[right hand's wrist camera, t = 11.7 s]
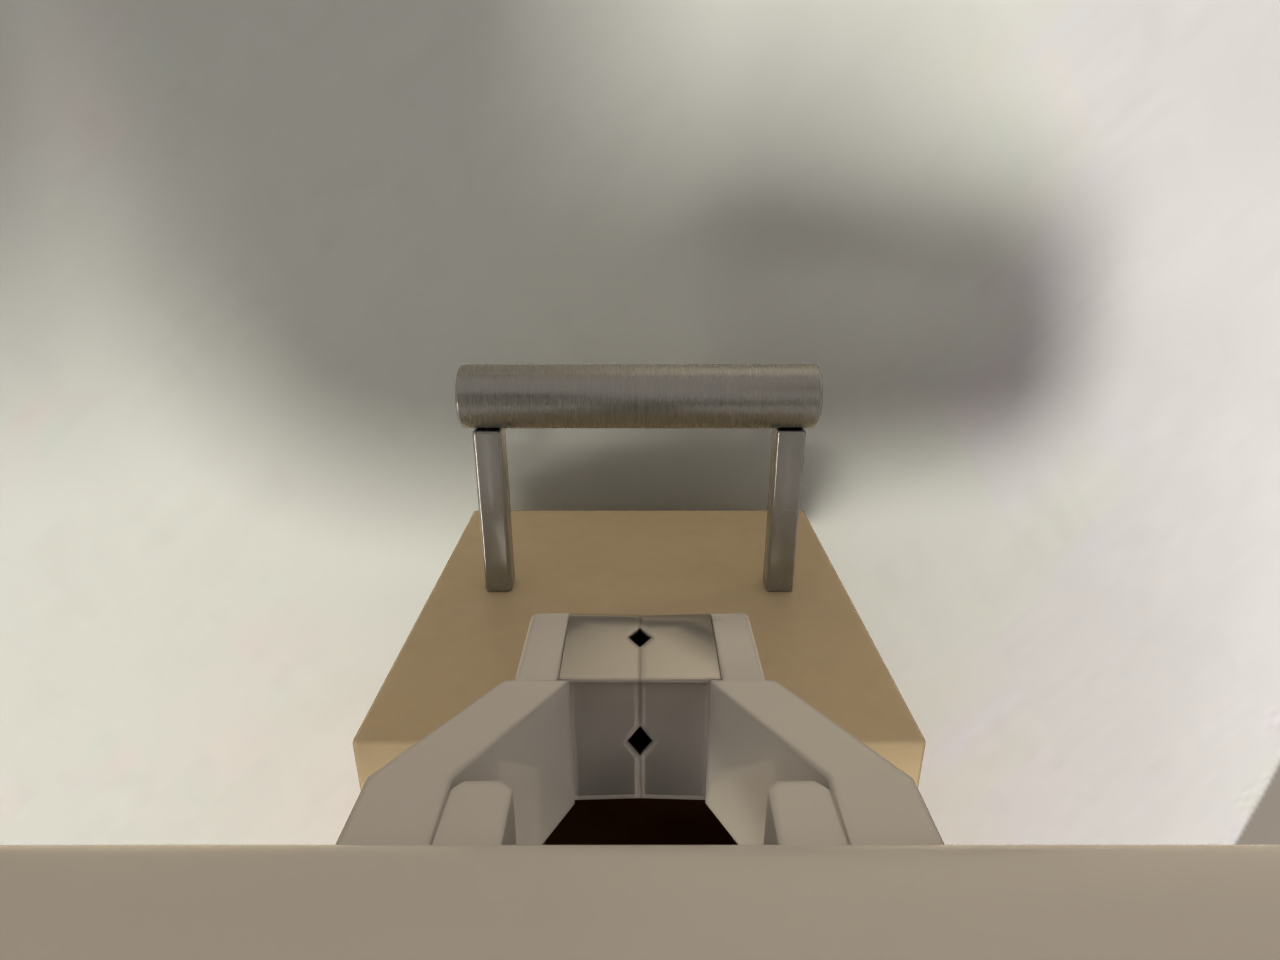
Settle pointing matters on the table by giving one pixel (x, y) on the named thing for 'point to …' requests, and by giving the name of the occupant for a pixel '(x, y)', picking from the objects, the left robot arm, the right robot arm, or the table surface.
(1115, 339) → the table surface
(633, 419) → the drawer
